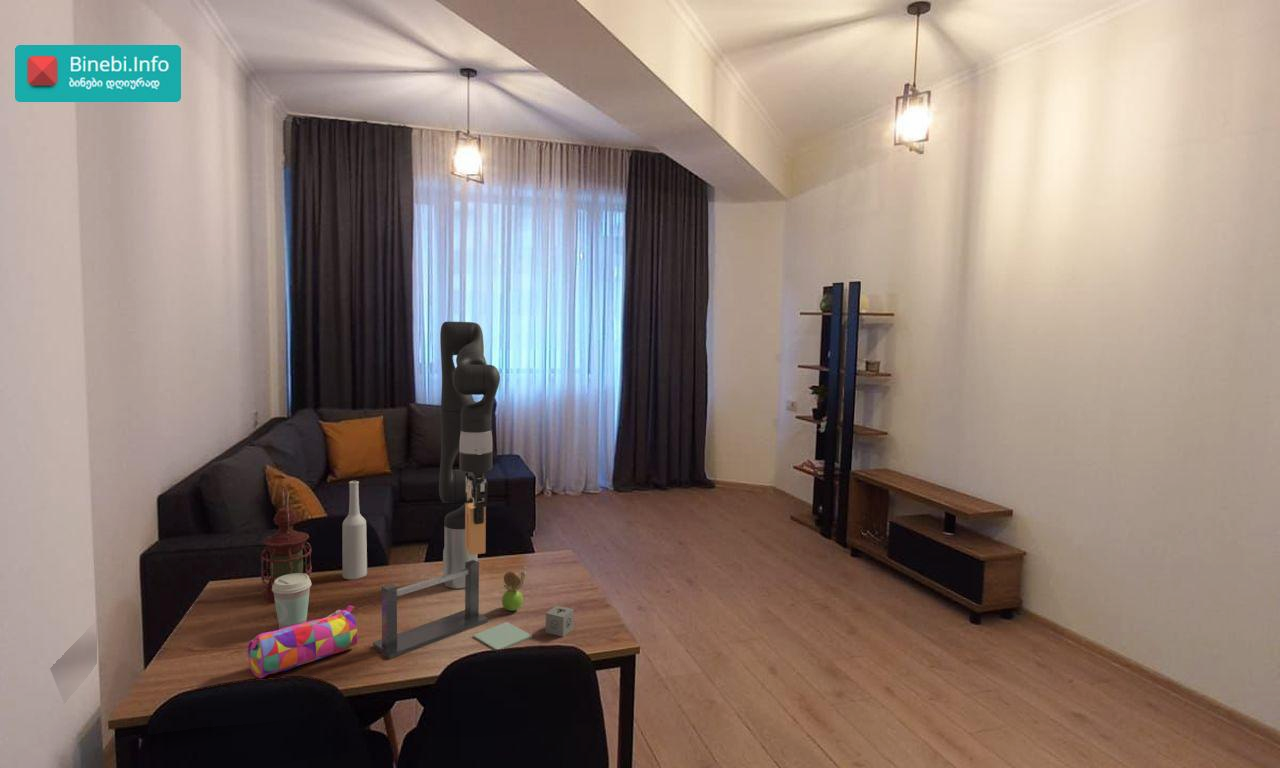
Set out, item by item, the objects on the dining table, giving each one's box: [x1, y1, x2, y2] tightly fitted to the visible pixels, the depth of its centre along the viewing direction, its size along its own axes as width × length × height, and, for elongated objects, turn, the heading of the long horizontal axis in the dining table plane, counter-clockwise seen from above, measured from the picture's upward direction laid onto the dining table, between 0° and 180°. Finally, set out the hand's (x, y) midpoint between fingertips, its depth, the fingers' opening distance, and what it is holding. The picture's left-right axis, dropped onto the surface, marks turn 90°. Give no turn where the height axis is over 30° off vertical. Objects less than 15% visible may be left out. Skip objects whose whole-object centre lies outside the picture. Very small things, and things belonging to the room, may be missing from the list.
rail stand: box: [372, 560, 489, 660], centre depth 158 cm, size 8×26×15 cm, turn 138°
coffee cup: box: [272, 572, 312, 630], centre depth 160 cm, size 9×9×12 cm
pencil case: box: [247, 605, 359, 679], centre depth 145 cm, size 22×9×9 cm, turn 140°
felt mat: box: [472, 621, 533, 651], centre depth 159 cm, size 10×10×1 cm
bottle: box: [341, 480, 368, 580], centre depth 192 cm, size 7×7×28 cm
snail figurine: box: [501, 566, 527, 612], centre depth 173 cm, size 5×6×12 cm
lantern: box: [260, 484, 313, 603], centre depth 177 cm, size 12×12×30 cm
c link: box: [464, 502, 487, 555], centre depth 156 cm, size 5×4×11 cm, turn 27°
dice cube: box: [545, 605, 575, 638], centre depth 163 cm, size 5×5×5 cm
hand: (475, 519), depth 156 cm, fingers closed on c link, 5 cm apart
